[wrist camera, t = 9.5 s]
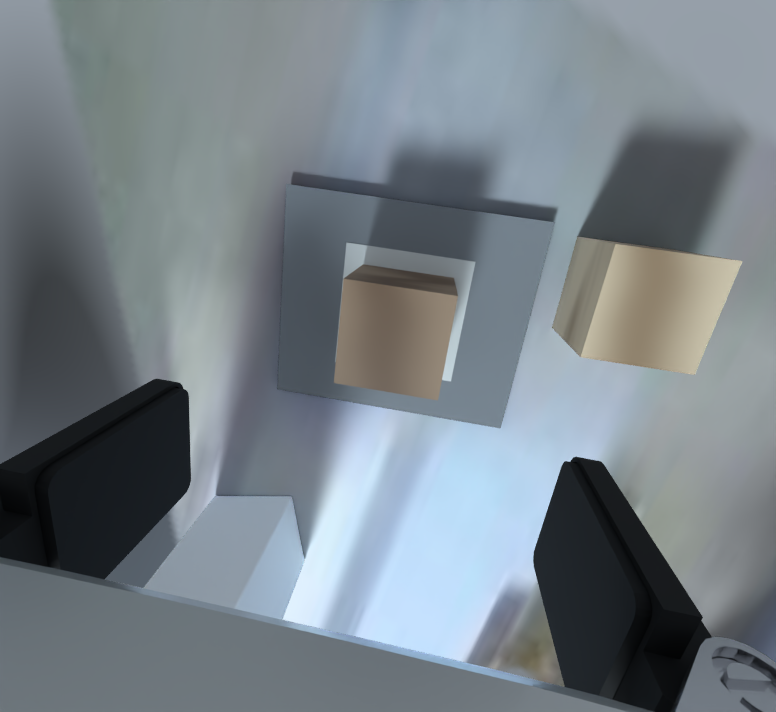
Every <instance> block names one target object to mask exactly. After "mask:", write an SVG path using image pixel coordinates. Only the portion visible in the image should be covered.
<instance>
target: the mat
mask: <svg viewBox="0 0 776 712" xmlns="http://www.w3.org/2000/svg"><path fill="white" fill-rule="evenodd" d="M554 224H555V222H548V221H541V220H534V219H527V218H520V217H513V216H506V215H500V214H493V213H486V212H479V211H472V210H465V209H458V208H451V207H444V206H437V205H430V204H423V203H416V202H409V201H402V200H395V199H388V198H381V197H374V196H367V195H360V194H353V193H346V192H339V191H332V190H325V189H318V188H311V187H304V186H297V185H290V184H286V203H285V225H284V248H283V270H282V293H281V315H280V338H279V360H278V383H277V389H280V390H285V391H291V392H297V393H302V394H308V395H314V396H319V397H325V398H331V399H337V400H342V401H348V402H354V403H359V404H365V405H371V406H376V407H382V408H388V409H393V410H399V411H405V412H411V413H416V414H422V415H428V416H433V417H439V418H445V419H450V420H456V421H462V422H468V423H473V424H479V425H485V426H490V427H496V428H501V424H502V421H503V417H504V413H505V409H506V405H507V402H508V398H509V394H510V390H511V387H512V383H513V379H514V375H515V371H516V368H517V364H518V360H519V356H520V352H521V349H522V345H523V341H524V337H525V333H526V330H527V326H528V322H529V318H530V315H531V311H532V307H533V303H534V299H535V296H536V292H537V288H538V284H539V280H540V277H541V273H542V269H543V265H544V262H545V258H546V254H547V250H548V246H549V243H550V239H551V235H552V231H553V227H554ZM363 264H365V265H372V266H378V267H385V268H392V269H398V270H405V271H412V272H418V273H425V274H432V275H438V276H445V277H452V278H454V280H455V285H456V289H457V294H458V299H457V304H456V310H455V315H454V320H453V325H452V330H451V335H450V341H449V346H448V351H447V356H446V361H445V367H444V372H443V377H442V382H441V387H440V392H439V398H438V400H432V399H426V398H420V397H414V396H408V395H402V394H396V393H390V392H384V391H379V390H373V389H367V388H361V387H355V386H349V385H343V384H337V383H334V376H335V365H336V354H337V343H338V332H339V322H340V311H341V300H342V289H343V279H344V278H345V277H346V276H348V275H349V274H351V273H352V272H353V271H355V270H356V269H357V268H359V267H360V266H361V265H363Z"/></svg>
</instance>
